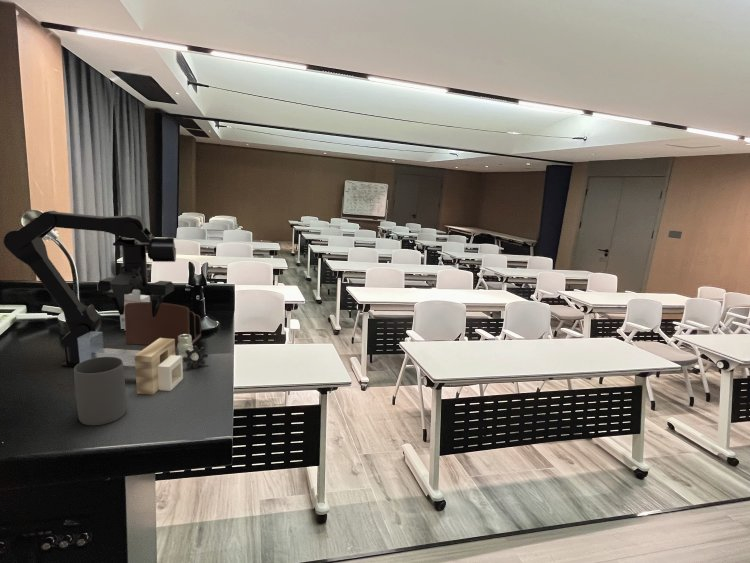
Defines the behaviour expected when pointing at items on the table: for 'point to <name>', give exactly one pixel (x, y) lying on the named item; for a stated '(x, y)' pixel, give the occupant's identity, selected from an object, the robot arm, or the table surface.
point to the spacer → (170, 372)
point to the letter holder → (159, 323)
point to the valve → (190, 351)
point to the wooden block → (152, 364)
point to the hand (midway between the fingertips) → (138, 315)
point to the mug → (100, 390)
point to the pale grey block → (102, 349)
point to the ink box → (132, 299)
